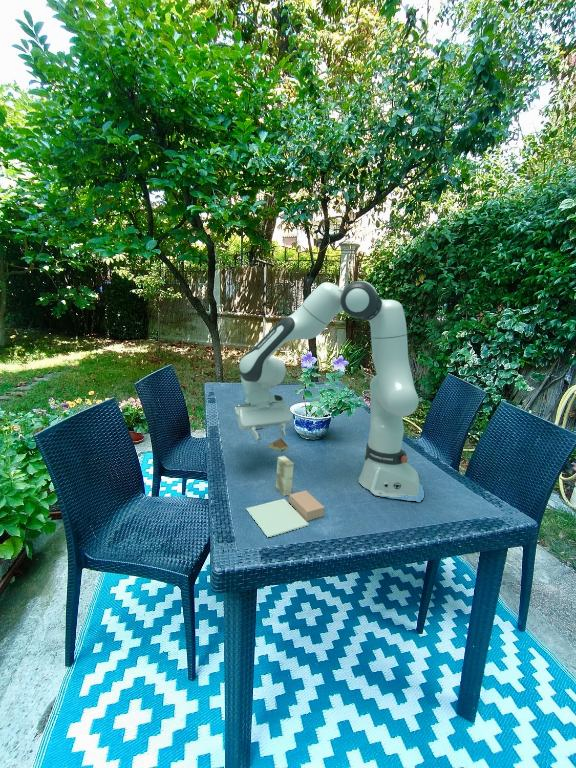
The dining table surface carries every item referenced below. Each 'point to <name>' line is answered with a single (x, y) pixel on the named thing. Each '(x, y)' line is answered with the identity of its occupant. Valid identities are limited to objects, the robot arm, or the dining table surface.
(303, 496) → the terracotta step
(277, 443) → the shard
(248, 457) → the dining table surface
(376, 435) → the robot arm
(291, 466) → the birch block
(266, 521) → the rubber mat
